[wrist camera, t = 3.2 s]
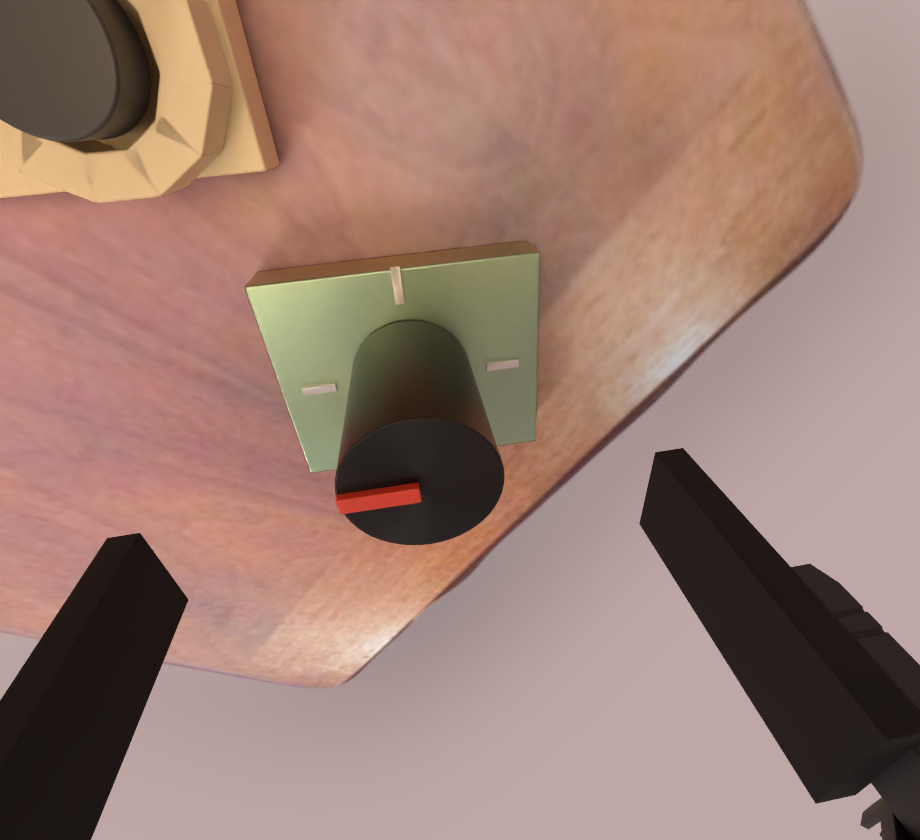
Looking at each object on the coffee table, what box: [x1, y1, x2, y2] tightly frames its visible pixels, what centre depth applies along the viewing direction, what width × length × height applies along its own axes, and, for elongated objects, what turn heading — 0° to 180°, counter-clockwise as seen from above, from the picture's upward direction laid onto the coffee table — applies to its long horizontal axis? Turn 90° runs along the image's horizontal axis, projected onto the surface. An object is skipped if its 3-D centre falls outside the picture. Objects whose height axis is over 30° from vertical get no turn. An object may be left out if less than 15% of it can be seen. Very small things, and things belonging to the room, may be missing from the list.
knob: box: [335, 321, 504, 545], centre depth 16 cm, size 5×5×7 cm
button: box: [0, 0, 151, 142], centre depth 10 cm, size 4×4×2 cm
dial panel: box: [245, 241, 540, 473], centre depth 20 cm, size 11×9×2 cm
